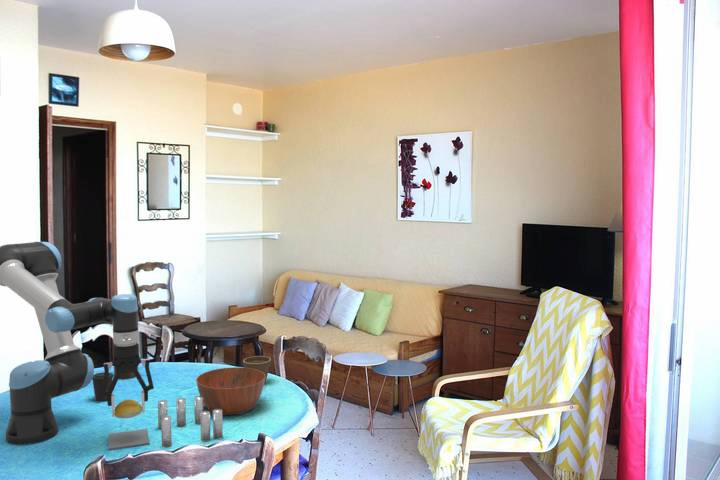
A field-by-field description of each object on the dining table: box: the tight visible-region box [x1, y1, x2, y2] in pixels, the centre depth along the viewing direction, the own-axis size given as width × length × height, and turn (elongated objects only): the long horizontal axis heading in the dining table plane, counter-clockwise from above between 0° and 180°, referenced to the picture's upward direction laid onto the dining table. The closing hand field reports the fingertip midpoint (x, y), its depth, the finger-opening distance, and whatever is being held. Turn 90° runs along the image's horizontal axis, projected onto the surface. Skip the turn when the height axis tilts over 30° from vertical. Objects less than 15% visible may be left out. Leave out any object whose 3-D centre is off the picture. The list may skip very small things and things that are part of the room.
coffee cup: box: [92, 371, 114, 403], centre depth 233 cm, size 8×8×10 cm
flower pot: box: [242, 355, 272, 385], centre depth 253 cm, size 12×11×10 cm
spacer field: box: [157, 395, 224, 448], centre depth 202 cm, size 19×18×9 cm
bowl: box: [195, 366, 265, 416], centre depth 225 cm, size 25×25×11 cm
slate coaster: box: [108, 428, 150, 451], centre depth 196 cm, size 12×12×1 cm
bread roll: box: [114, 399, 142, 419], centre depth 195 cm, size 8×9×4 cm
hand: (128, 413), depth 196 cm, fingers closed on bread roll, 8 cm apart
